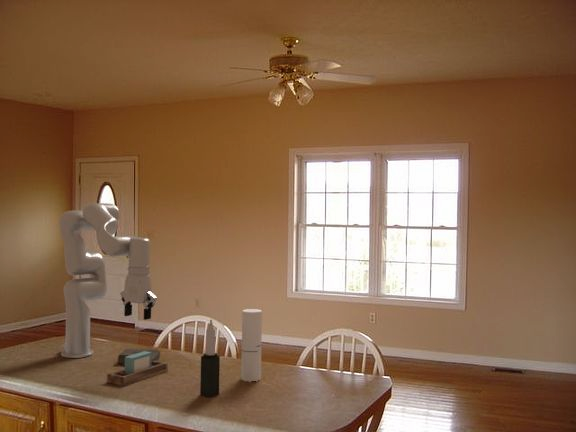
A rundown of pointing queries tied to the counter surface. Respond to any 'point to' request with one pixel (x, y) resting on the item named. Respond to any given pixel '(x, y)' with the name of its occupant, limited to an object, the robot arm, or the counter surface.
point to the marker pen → (210, 366)
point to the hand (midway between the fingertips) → (137, 317)
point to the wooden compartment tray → (137, 374)
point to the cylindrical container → (251, 344)
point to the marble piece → (128, 352)
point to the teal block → (137, 362)
